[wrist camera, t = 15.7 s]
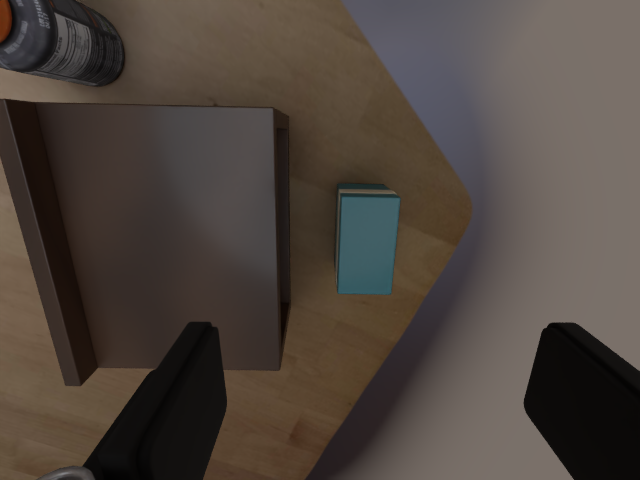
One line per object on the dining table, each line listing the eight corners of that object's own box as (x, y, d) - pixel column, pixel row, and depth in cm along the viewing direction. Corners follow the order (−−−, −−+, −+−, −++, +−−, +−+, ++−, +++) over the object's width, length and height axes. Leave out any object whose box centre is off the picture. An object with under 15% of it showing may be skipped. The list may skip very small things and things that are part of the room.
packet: (384, 183, 31) (401, 197, 25) (377, 264, 34) (391, 295, 27) (336, 182, 31) (340, 195, 25) (333, 263, 34) (336, 294, 27)
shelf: (288, 115, 29) (269, 104, 18) (290, 308, 36) (277, 389, 24) (113, 112, 29) (-17, 98, 18) (146, 305, 36) (64, 386, 24)
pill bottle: (41, 26, 27) (-140, -45, 16) (102, -3, 27) (-46, -96, 16) (82, 98, 29) (-59, 76, 18) (139, 72, 28) (29, 34, 18)
